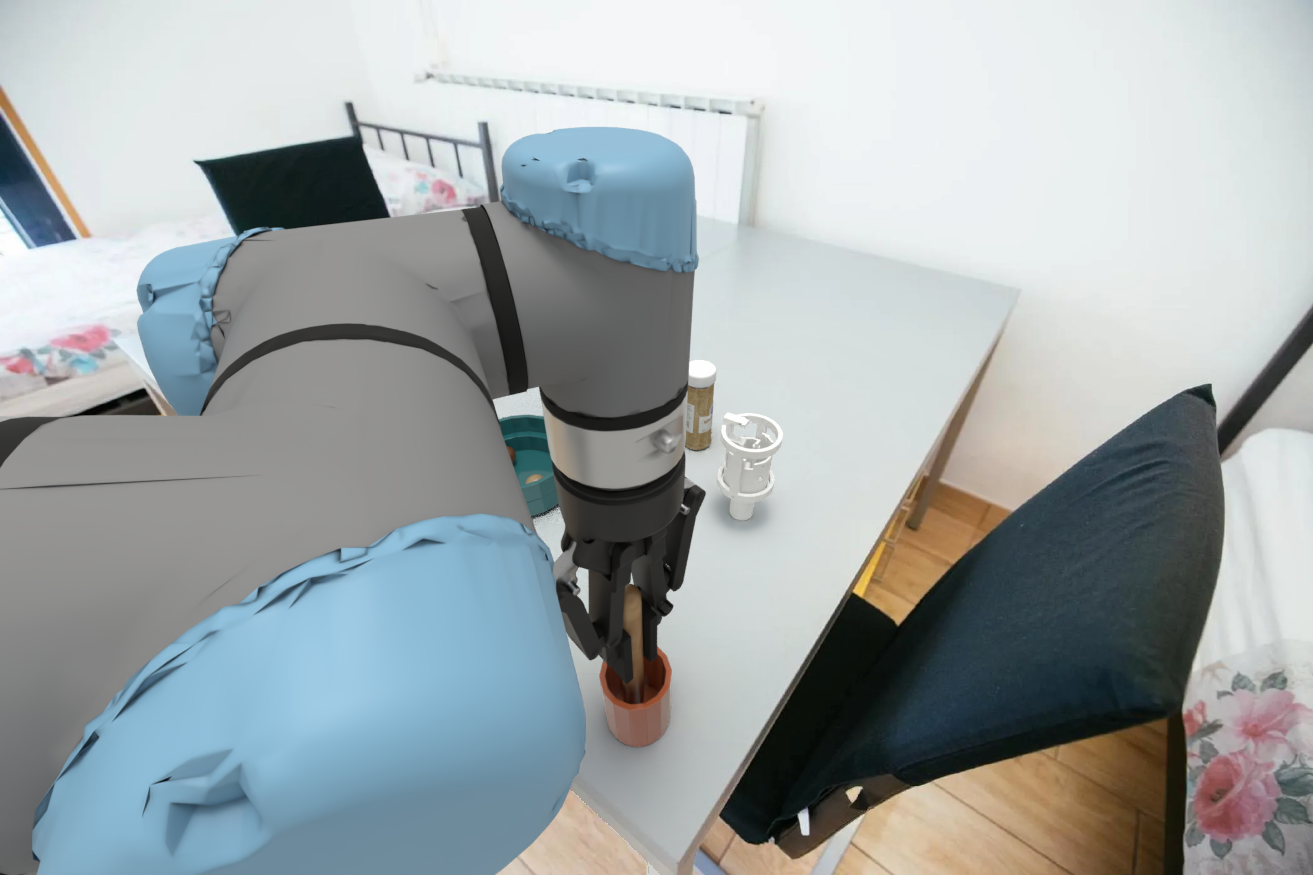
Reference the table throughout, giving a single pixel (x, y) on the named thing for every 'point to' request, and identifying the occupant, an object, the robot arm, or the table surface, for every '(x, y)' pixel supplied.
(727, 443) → the white cylindrical cage
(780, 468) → the table surface
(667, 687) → the utensil pot
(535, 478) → the bead
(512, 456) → the bead
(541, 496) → the bowl
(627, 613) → the stick
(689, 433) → the sprinkles bottle
